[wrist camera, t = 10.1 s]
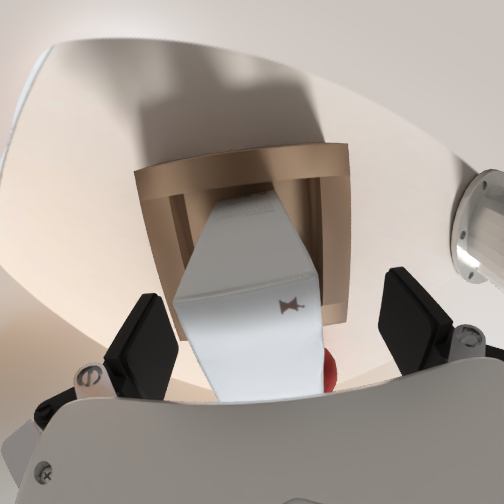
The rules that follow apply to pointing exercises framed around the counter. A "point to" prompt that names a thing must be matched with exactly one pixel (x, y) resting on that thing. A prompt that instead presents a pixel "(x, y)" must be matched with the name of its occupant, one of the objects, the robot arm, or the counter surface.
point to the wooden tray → (249, 182)
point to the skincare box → (253, 303)
